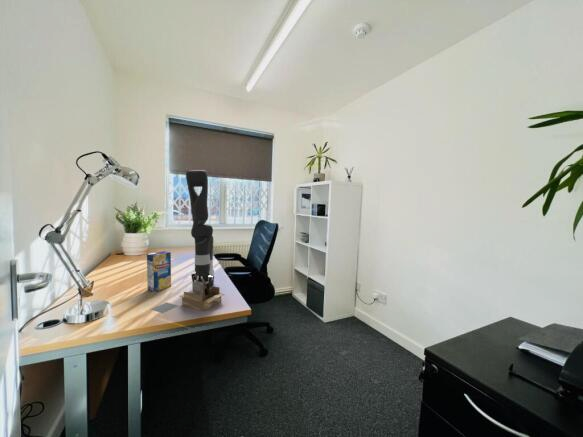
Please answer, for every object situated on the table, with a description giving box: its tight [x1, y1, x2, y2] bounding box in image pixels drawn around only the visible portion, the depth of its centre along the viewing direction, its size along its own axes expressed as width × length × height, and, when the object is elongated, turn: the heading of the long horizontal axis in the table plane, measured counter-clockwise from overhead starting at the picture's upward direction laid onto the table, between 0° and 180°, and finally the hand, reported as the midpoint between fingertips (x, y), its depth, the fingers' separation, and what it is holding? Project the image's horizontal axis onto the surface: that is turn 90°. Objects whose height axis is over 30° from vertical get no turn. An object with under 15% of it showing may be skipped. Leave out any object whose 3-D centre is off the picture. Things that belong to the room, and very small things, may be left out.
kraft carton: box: [179, 285, 225, 312], centre depth 121 cm, size 13×19×8 cm
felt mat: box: [150, 301, 179, 314], centre depth 116 cm, size 9×9×1 cm
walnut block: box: [191, 280, 213, 302], centre depth 121 cm, size 9×5×10 cm, turn 157°
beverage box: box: [146, 250, 172, 293], centre depth 143 cm, size 7×11×22 cm, turn 151°
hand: (202, 293), depth 122 cm, fingers closed on walnut block, 5 cm apart
